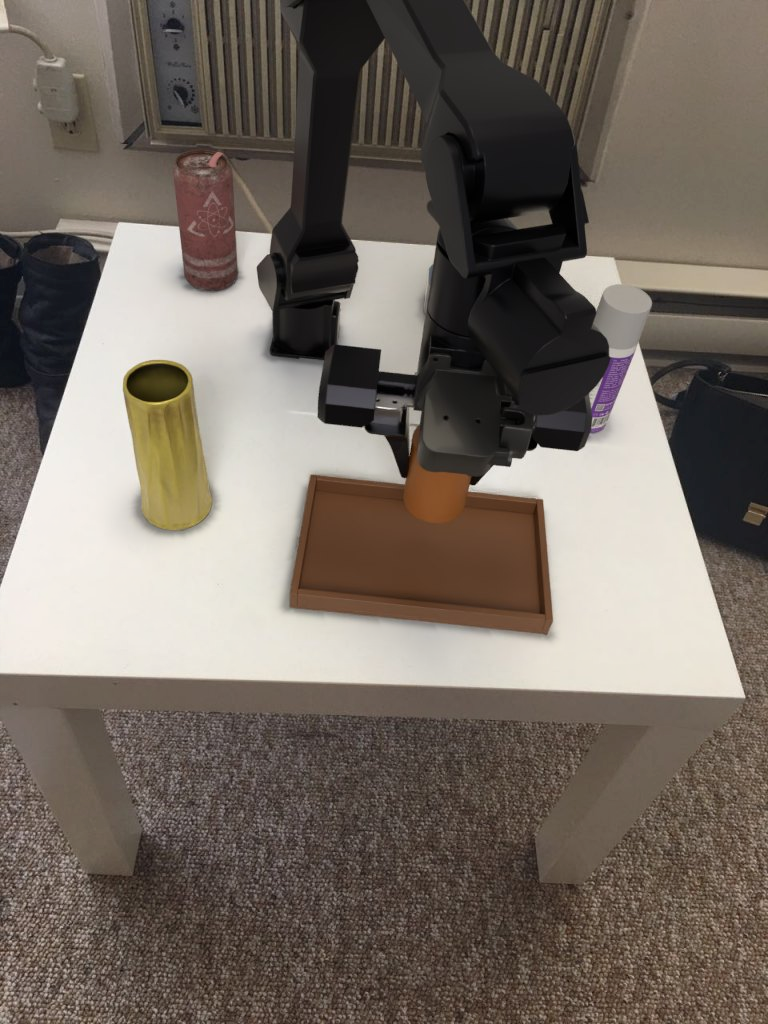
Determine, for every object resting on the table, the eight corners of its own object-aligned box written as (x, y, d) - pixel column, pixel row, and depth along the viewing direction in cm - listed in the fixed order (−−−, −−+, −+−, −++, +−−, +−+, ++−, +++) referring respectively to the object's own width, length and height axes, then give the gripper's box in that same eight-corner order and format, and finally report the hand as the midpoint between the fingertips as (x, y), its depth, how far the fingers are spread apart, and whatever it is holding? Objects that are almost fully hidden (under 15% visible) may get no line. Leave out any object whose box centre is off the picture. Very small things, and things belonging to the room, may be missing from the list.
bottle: (401, 519, 64) (416, 427, 57) (404, 473, 68) (418, 380, 60) (464, 526, 65) (487, 434, 57) (464, 480, 68) (486, 387, 60)
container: (603, 409, 87) (650, 286, 75) (606, 439, 83) (656, 317, 72) (559, 403, 86) (599, 280, 75) (561, 433, 83) (603, 310, 72)
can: (248, 272, 97) (244, 156, 87) (219, 299, 93) (210, 181, 83) (204, 256, 98) (194, 140, 88) (174, 282, 95) (159, 164, 84)
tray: (289, 607, 67) (289, 593, 65) (310, 488, 76) (310, 473, 74) (547, 634, 67) (553, 621, 66) (538, 513, 76) (543, 499, 75)
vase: (153, 540, 70) (129, 416, 59) (132, 491, 74) (105, 365, 63) (221, 518, 72) (210, 395, 62) (198, 471, 76) (183, 347, 65)
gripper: (309, 376, 47) (305, 545, 59) (632, 412, 47) (564, 573, 59) (330, 267, 54) (323, 437, 66) (610, 299, 55) (553, 462, 66)
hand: (437, 477), depth 64 cm, fingers closed on bottle, 5 cm apart
